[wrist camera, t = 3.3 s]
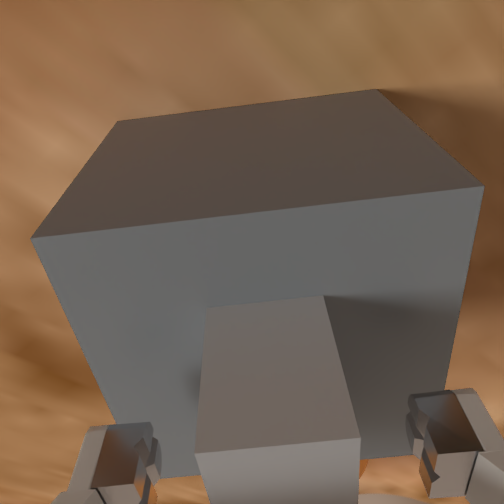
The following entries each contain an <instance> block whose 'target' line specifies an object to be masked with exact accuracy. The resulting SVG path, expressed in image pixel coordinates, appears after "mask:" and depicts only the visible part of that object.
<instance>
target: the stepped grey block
mask: <svg viewBox="0 0 504 504" xmlns="http://www.w3.org/2000/svg"><path fill="white" fill-rule="evenodd" d="M484 187H485V186H484V185H483V184H482V183H481V182H480V181H479V180H478V179H476V178H475V177H474V176H473V175H472V174H471V173H470V172H469V171H467V170H466V169H465V168H464V167H463V166H462V165H461V164H460V163H458V162H457V161H456V160H455V159H454V158H453V157H452V156H451V155H450V154H448V153H447V152H446V151H445V150H444V149H443V148H442V147H441V146H439V145H438V144H437V143H436V142H435V141H434V140H433V139H432V138H431V137H429V136H428V135H427V134H426V133H425V132H424V131H423V130H422V129H420V128H419V127H418V126H417V125H416V124H415V123H414V122H413V121H412V120H410V119H409V118H408V117H407V116H406V115H405V114H404V113H403V112H401V111H400V110H399V109H398V108H397V107H396V106H395V105H394V104H393V103H391V102H390V101H389V100H388V99H387V98H386V97H385V96H384V95H382V94H381V93H380V92H379V91H378V90H377V89H373V90H365V91H357V92H349V93H341V94H333V95H325V96H317V97H309V98H301V99H293V100H285V101H277V102H269V103H261V104H253V105H245V106H237V107H229V108H221V109H213V110H205V111H197V112H188V113H180V114H172V115H164V116H156V117H148V118H140V119H132V120H124V121H117V123H116V124H115V125H114V127H113V128H112V129H111V131H110V132H109V133H108V135H107V136H106V137H105V139H104V140H103V141H102V143H101V144H100V145H99V147H98V148H97V149H96V151H95V152H94V153H93V155H92V156H91V157H90V159H89V160H88V161H87V163H86V164H85V166H84V167H83V168H82V170H81V171H80V172H79V174H78V175H77V176H76V178H75V179H74V180H73V182H72V183H71V184H70V186H69V187H68V188H67V190H66V191H65V192H64V194H63V195H62V196H61V198H60V199H59V200H58V202H57V203H56V205H55V206H54V207H53V209H52V210H51V211H50V213H49V214H48V215H47V217H46V218H45V219H44V221H43V222H42V223H41V225H40V226H39V227H38V229H37V230H36V231H35V233H34V234H33V235H32V237H31V238H30V239H31V241H32V243H33V245H34V248H35V250H36V252H37V254H38V256H39V258H40V261H41V263H42V265H43V267H44V269H45V271H46V273H47V276H48V278H49V280H50V282H51V284H52V286H53V288H54V291H55V293H56V295H57V297H58V299H59V301H60V303H61V306H62V308H63V310H64V312H65V314H66V316H67V319H68V321H69V323H70V325H71V327H72V329H73V331H74V334H75V336H76V338H77V340H78V342H79V344H80V346H81V349H82V351H83V353H84V355H85V357H86V359H87V362H88V364H89V366H90V368H91V370H92V372H93V374H94V377H95V379H96V381H97V383H98V385H99V387H100V389H101V392H102V394H103V396H104V398H105V400H106V402H107V405H108V407H109V409H110V411H111V413H112V415H113V417H114V420H115V422H116V424H127V423H139V422H151V424H152V426H153V428H154V432H153V437H154V438H156V439H157V440H158V441H159V444H160V447H161V453H162V468H161V476H160V479H162V478H173V477H183V476H194V475H201V476H202V479H203V482H204V485H205V488H206V491H207V494H208V497H209V500H210V503H211V504H358V491H359V467H360V460H363V459H374V458H384V457H395V456H405V455H414V454H412V451H411V448H410V445H409V442H408V438H407V433H406V425H405V422H406V415H407V414H408V413H409V412H410V409H409V407H408V404H407V403H408V397H409V396H410V394H418V393H426V392H434V391H443V390H444V388H445V383H446V378H447V373H448V368H449V363H450V358H451V353H452V348H453V343H454V338H455V333H456V328H457V323H458V318H459V313H460V308H461V303H462V298H463V293H464V288H465V283H466V277H467V272H468V267H469V262H470V257H471V252H472V247H473V242H474V237H475V232H476V227H477V222H478V217H479V212H480V207H481V202H482V197H483V192H484Z"/></svg>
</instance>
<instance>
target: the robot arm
mask: <svg viewBox="0 0 504 504" xmlns="http://www.w3.org/2000/svg"><path fill="white" fill-rule="evenodd" d="M407 404H408V407H409V409H410V412H409V413H408V414H407V415H406V422H405V425H406V433H407V438H408V442H409V445H410V448H411V451H412V454H414V455H415V456H416V457H417V458H418V459H420V460H421V461H420V467H419V473H420V475H421V478H422V481H423V484H424V486H425V489H426V492H427V494H428V497H429V498H443V497H459V496H466V497H465V498H466V499H467V500H468V501H469V502H470V503H471V504H504V439H503V437H502V436H501V434H500V432H499V430H498V429H497V427H496V425H495V423H494V422H493V420H492V418H491V416H490V415H489V413H488V411H487V409H486V408H485V406H484V404H483V403H482V401H481V399H480V397H479V396H478V394H477V392H476V391H475V390H474V389H472V388H466V389H458V390H443V391H434V392H426V393H418V394H410V396H409V397H408V403H407ZM153 432H154V428H153V426H152V424H151V422H139V423H127V424H115V425H102V426H92V427H90V428H89V429H88V431H87V432H86V434H85V437H84V440H83V443H82V446H81V450H80V453H79V456H78V459H77V462H76V465H75V468H74V471H73V474H72V477H71V480H70V484H69V487H68V490H67V491H66V492H61V493H60V494H59V495H58V496H57V497H56V498H55V499H54V500H53V502H52V503H51V504H156V503H157V497H158V496H157V494H156V491H155V489H154V485H155V484H156V483H157V481H158V480H159V479H160V476H161V468H162V453H161V447H160V444H159V441H158V440H157V439H156V438H154V437H153Z"/></svg>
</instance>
